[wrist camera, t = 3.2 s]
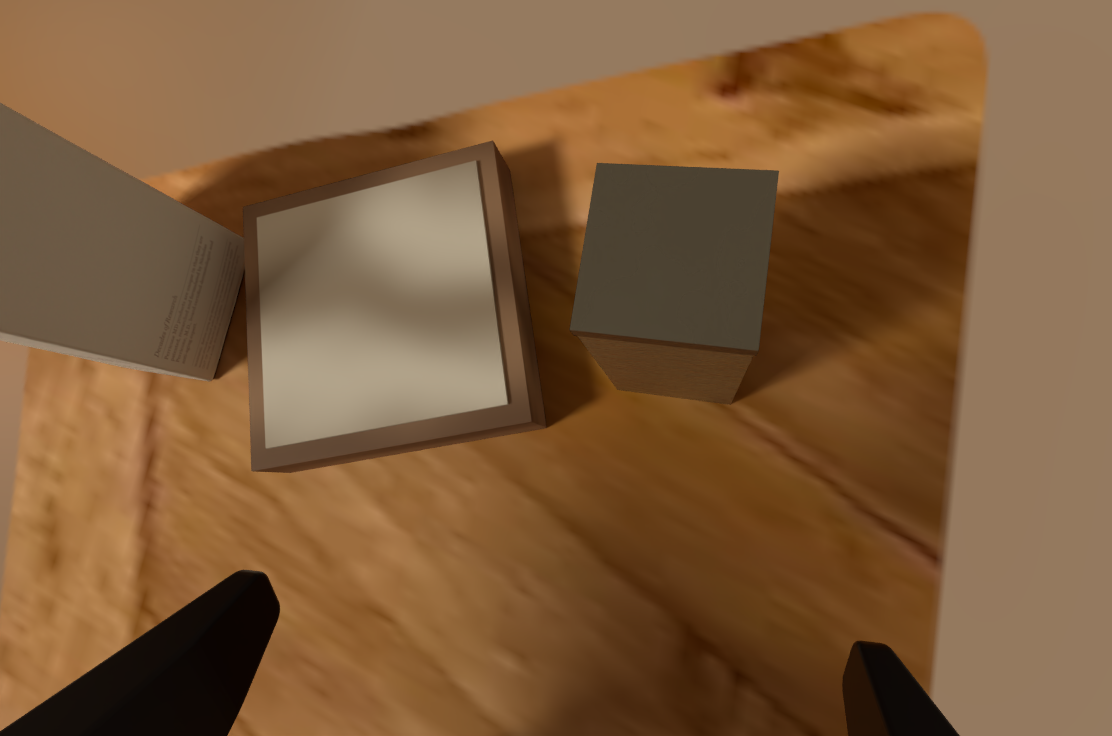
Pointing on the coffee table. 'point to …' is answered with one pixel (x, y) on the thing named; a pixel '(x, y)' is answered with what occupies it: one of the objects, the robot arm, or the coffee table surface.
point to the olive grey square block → (675, 277)
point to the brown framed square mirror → (388, 315)
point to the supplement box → (108, 261)
